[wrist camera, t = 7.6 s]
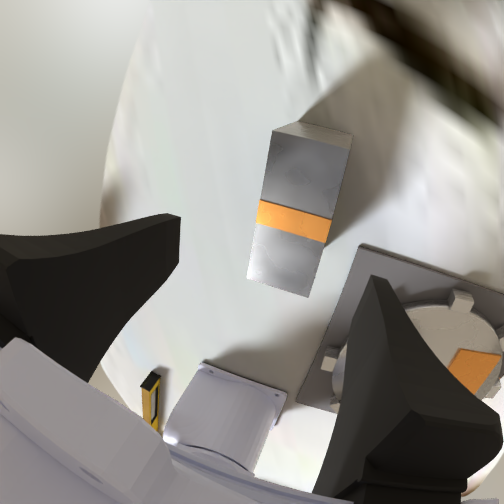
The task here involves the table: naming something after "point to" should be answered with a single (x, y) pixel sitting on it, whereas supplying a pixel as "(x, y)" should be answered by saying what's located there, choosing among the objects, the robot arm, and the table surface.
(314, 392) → the base plate
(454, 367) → the sprocket
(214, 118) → the table surface
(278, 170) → the orange striped gray block
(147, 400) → the spirit level
